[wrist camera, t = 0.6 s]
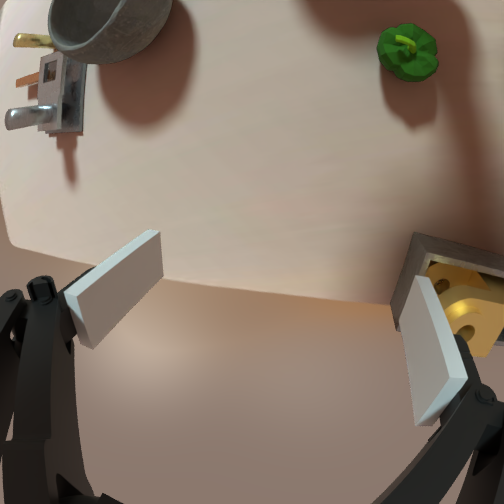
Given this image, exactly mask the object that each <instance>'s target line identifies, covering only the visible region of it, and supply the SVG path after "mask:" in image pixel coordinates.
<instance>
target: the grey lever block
mask: <svg viewBox="0 0 504 504" xmlns="http://www.w3.org/2000/svg"><path fill="white" fill-rule="evenodd" d="M86 66H87V64H86V63H80V62H77V61H75V60H73V59H70V58H69V57H67V56H65V55H63V54H62V53H61V52H60V51H57V52H54V53H52V54H49V55H46V56H43V57H41V61H40V70H39V72H37V73H34V74H31V75H28V76H25V77H23V78H20V79H17V80H16V88H17V87H24V86H27V85H30V84H34V83H37V82H38V95H37V100H38V99H39V100H38V105H36V106H28V107H21V108H14V109H9V110H8V111H7V113H6V115H5V126H6V128H7V130H13V129H18V128H23V127H29V126H34V125H38V131H45V134H48V133H62V132H80V131H83V103H84V88H85V76H86ZM48 68H49V70H48ZM47 80H48V81H47Z"/></svg>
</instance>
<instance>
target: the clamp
mask: <svg viewBox="0 0 504 504" xmlns="http://www.w3.org/2000/svg"><path fill="white" fill-rule="evenodd" d="M425 277H429V279H430V281H431V283H432V285H433V288H434V290H435V292H436V294H437V297H438V299H439V301H440V304H441V306H442V308H443V311H444V313H445V316H446V318H447V320H448V323H449V325H450V328H451V331H452V333H453V334H458V335H461V336H462V338H463V339H464V340H465V341H466V342H467V344H468V347H469V350H470V353H471V355H472V356H477V357H486V356H487V355H488V353H489V351H490V350H491V348H492V346H493V345H494V343H495V341H496V340H497V338H498V336H499V335H500V333H501V331H502V329H503V328H504V278H502V277H498V276H494V275H490V274H486V273H482V272H478V271H474V270H470V269H466V268H462V267H457V266H453V265H449V264H445V263H441V262H436V261H432V260H430V263H429V266H428V269H427V272H426V274H425ZM440 279H444V280H443V282H442V283H440V284H439V285H435V283H436V282H437V281H438V280H440Z"/></svg>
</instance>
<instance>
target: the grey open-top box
mask: <svg viewBox="0 0 504 504" xmlns="http://www.w3.org/2000/svg"><path fill="white" fill-rule="evenodd" d="M430 260H432V261H436V262H441V263H445V264H449V265H453V266H457V267H462V268H466V269H470V270H474V271H478V272H482V273H486V274H490V275H494V276H498V277H502V278H504V256H502V255H498V254H495V253H491V252H488V251H484V250H481V249H477V248H474V247H470V246H466V245H463V244H459V243H455V242H451V241H447V240H444V239H440V238H436V237H432V236H428V235H424V234H420V233H416V232H414V233H413V237H412V240H411V243H410V247H409V250H408V253H407V256H406V259H405V262H404V266H403V269H402V271H401V274H400V277H399V280H398V283H397V286H396V289H395V291H394V294H393V297H392V299H391V302H390V305H391V310H392V314H393V319H394V323H395V328H396V331H399V332H401V329H400V324H399V319H400V316H401V313H402V311H403V308H404V306H405V303H406V300H407V297H408V295H409V292H410V289H411V286H412V283H413V280H414V277H415V275H418V276H423V277H425V274H426V272H427V269H428V266H429V263H430ZM494 345H497V346H504V328H503V329H502V331H501V333H500V335H499V336H498V338H497V340H496V341H495V343H494Z"/></svg>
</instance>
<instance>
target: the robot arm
mask: <svg viewBox="0 0 504 504" xmlns="http://www.w3.org/2000/svg"><path fill="white" fill-rule="evenodd" d="M163 276H164V275H163V264H162V252H161V238H160V231H155V230H149V229H148V230H147V231H145V232H144V233H142V234H141V235H139V236H138V237H136V238H135V239H134V240H132V241H131V242H129V243H128V244H127V245H125V246H124V247H122V248H121V249H120V250H118V251H117V252H115V253H114V254H113V255H111V256H110V257H109V258H107V259H106V260H105V261H103V262H102V263H101V264H99V265H98V266H95V267H93V268H90V269H88V270H87V271H85V272H84V273H83V274H81V276H79V277H77V278H76V279H75V281H72V282H71V283H70V284H68V285H67V286H66V287H64V288H63V289H62V290H60V291H59V292H58V293H57V291H56V287H55V284H54V280H53V278H52V277H51V276H39V277H36V278H34V279H32V280H31V281H30V282H28V284H27V289H28V293H29V295H30V298H31V300H25V298H24V296H23V293H22V291H21V290H19V289H14V290H13V289H12V290H9V291H7V292H6V293H4V294H3V295H2V296H1V297H0V462H1V457H2V470H3V490H4V503H5V504H123V503H121V502H119V501H117V500H115V499H113V498H111V497H110V496H108V495H106V494H104V493H102V495H101V497H96V496H94V493H93V490H92V488H91V486H90V484H89V482H88V480H87V477H86V474H85V470H84V464H83V458H82V452H81V445H80V437H79V428H78V419H77V407H76V394H75V372H74V371H75V370H74V369H75V368H74V342H73V339H72V338H73V337H74V336H75V335H76V334H77V335H78V338H79V341H80V344H82V345H84V346H86V347H89V348H91V349H94V348H95V347H96V346H97V345H98V344H99V343H100V342H101V341H102V339H103V338H104V337H105V336H106V335H107V334H108V333H109V332H110V331H111V330H112V329H113V328H114V327H115V326H116V324H117V323H118V322H119V321H120V320H121V319H122V318H123V317H124V316H125V315H126V314H127V313H128V312H129V311H130V310H131V309H132V308H133V306H135V305H136V304H137V303H138V301H139V300H140V299H141V298H142V297H143V296H144V295H145V294H146V293H147V292H148V291H149V290H150V289H151V288H152V287H153V286H154V285H155V284H156V283H157V282H158V281H159V280H160V279H161V278H162V277H163ZM399 324H400V329H401V334H402V339H403V344H404V350H405V356H406V361H407V367H408V374H409V381H410V388H411V394H412V403H413V411H414V421H415V426H432V425H433V424H434V423H435V422H436V421H437V419H438V418H439V417H440V423H441V426H440V427H439V428H438V429H437V430H436V432H435V433H434V434H433V435H432V436H431V437H430V438H429V439H428V442H427V444H426V445H425V446H424V447H423V449H422V450H421V451H420V452H419V453H418V455H417V456H416V457H415V458H414V460H413V461H412V462H411V463H410V464H409V465H408V466H407V467H406V469H405V470H404V471H403V472H402V473H401V474H400V475H399V477H397V479H396V480H395V481H394V482H393V483H392V484H391V485H390V486H389V487H388V488H387V489H386V490H385V491H384V492H383V493H382V494H381V495H380V496H379V497H378V498H377V499H376V500H375V501H374V502H373V503H372V504H439V502H440V501H441V499H442V498H443V497H444V496H445V494H446V493H447V491H448V490H449V488H450V487H451V486H452V484H453V482H454V481H455V480H456V478H457V476H458V475H459V474H460V472H461V470H462V469H463V467H464V466H465V464H466V462H467V461H468V459H469V457H470V456H471V454H472V452H473V455H472V458H471V462H470V465H469V468H468V472H467V475H466V477H465V481H464V483H463V486H462V489H461V491H460V494H459V497H458V499H457V502H456V504H504V402H500V401H497V398H496V395H495V393H494V392H493V390H492V389H491V388H490V387H488V386H487V385H484V384H482V383H481V380H480V377H479V374H478V371H477V368H476V366H475V363H474V361H473V357H472V355H471V353H470V350H469V347H468V344H467V342H466V341H465V340H464V339H463V338H462V336H461V335H458V334H453V333H452V331H451V328H450V325H449V323H448V320H447V318H446V316H445V313H444V311H443V308H442V306H441V304H440V301H439V299H438V297H437V294H436V292H435V290H434V288H433V285H432V283H431V281H430V279H429V277H423V276H418V275H415V277H414V280H413V283H412V286H411V289H410V292H409V295H408V297H407V300H406V303H405V306H404V308H403V311H402V313H401V316H400V319H399ZM11 331H12V333H13V335H14V337H13V339H12V340H11V338H10V333H11ZM13 412H14V420H13V438H12V440H11V441H6V437H7V433H8V429H9V426H10V422H11V419H12V415H13ZM473 450H474V451H473Z"/></svg>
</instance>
